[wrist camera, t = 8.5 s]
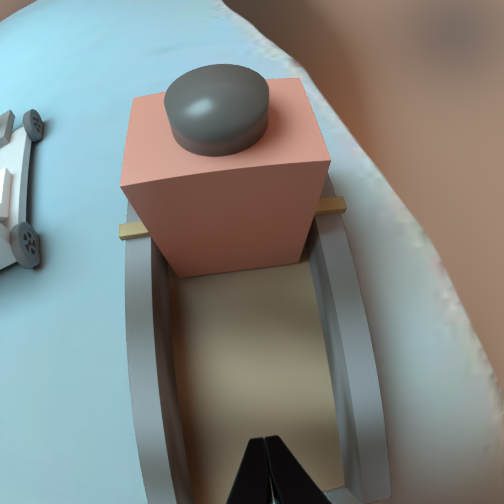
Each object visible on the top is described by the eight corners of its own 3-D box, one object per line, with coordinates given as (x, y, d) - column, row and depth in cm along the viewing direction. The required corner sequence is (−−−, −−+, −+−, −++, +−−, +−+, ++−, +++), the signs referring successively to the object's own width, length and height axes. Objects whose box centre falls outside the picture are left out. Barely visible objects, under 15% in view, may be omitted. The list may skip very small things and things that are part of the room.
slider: (298, 262, 16) (339, 131, 8) (178, 278, 16) (104, 160, 7) (284, 195, 18) (302, 51, 9) (176, 209, 17) (124, 73, 9)
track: (374, 471, 13) (410, 493, 9) (163, 499, 12) (135, 530, 8) (314, 171, 20) (326, 122, 16) (141, 193, 19) (118, 148, 15)
